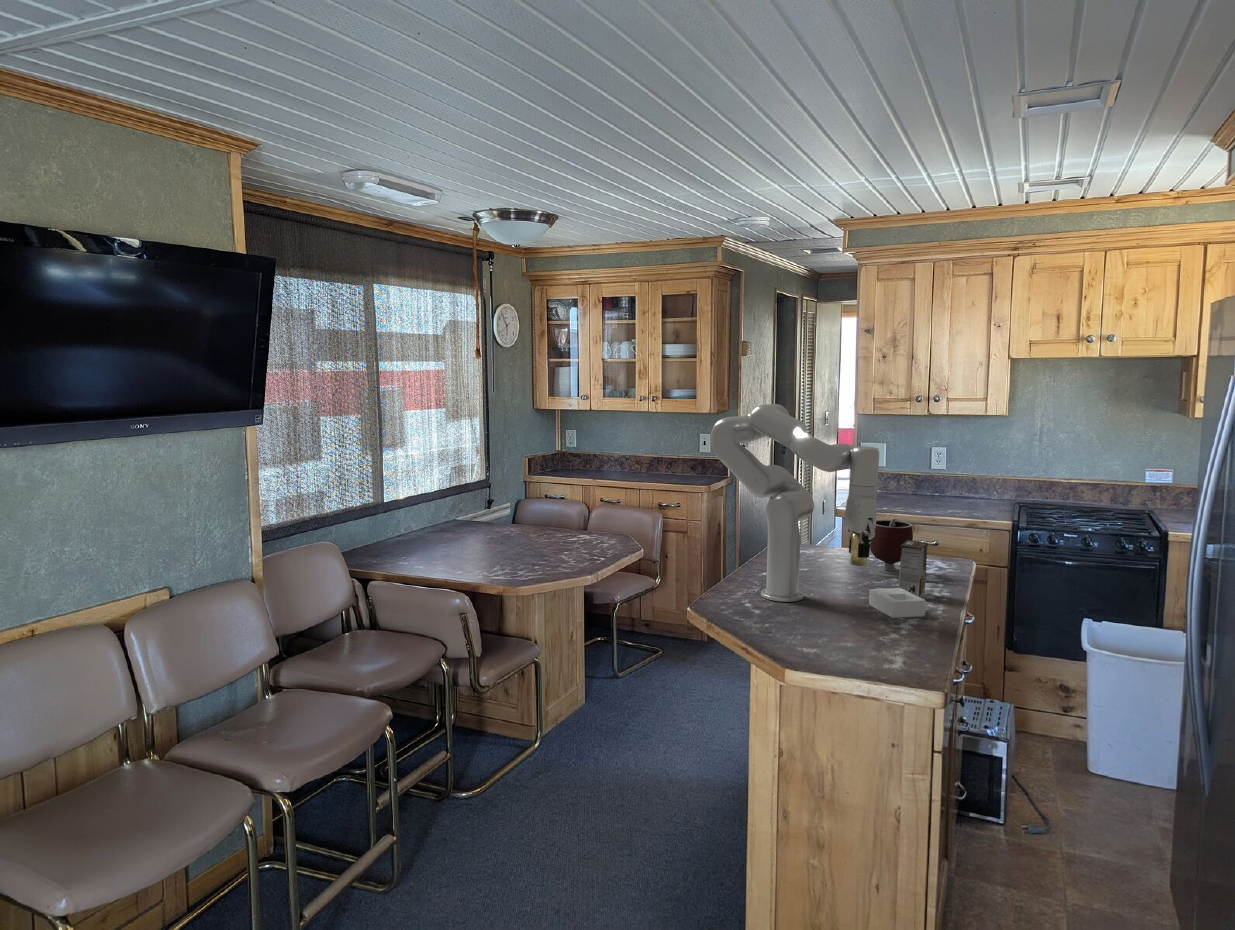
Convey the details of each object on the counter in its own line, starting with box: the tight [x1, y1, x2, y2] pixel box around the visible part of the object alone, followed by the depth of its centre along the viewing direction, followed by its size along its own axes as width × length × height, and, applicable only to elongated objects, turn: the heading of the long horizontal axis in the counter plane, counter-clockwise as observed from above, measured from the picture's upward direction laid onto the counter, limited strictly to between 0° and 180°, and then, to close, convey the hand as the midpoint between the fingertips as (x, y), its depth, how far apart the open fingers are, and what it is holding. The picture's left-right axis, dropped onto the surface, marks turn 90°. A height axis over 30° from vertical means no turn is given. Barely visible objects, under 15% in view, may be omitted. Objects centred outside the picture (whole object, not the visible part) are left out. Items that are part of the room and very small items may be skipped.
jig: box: [868, 587, 927, 619], centre depth 237 cm, size 13×10×4 cm
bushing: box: [849, 531, 868, 567], centre depth 233 cm, size 4×4×9 cm
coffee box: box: [898, 540, 928, 598], centre depth 252 cm, size 9×6×16 cm
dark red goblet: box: [869, 519, 914, 579], centre depth 278 cm, size 16×14×20 cm
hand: (858, 554), depth 233 cm, fingers closed on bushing, 4 cm apart
